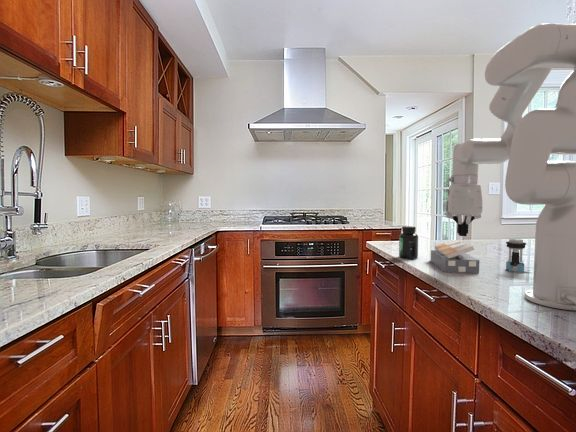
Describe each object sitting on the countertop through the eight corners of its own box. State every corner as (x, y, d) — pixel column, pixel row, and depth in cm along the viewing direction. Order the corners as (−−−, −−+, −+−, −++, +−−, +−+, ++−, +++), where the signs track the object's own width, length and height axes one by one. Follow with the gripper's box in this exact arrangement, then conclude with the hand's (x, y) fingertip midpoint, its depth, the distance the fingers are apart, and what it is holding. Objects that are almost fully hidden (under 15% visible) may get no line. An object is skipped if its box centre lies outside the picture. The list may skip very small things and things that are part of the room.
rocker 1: (461, 244, 116) (460, 241, 116) (438, 251, 118) (437, 247, 118) (458, 243, 120) (456, 239, 120) (435, 249, 122) (434, 245, 122)
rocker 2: (467, 247, 110) (466, 243, 110) (443, 254, 112) (441, 250, 112) (463, 245, 114) (462, 241, 114) (439, 252, 116) (438, 248, 116)
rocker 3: (474, 249, 104) (472, 245, 104) (448, 258, 106) (446, 254, 106) (469, 247, 108) (468, 243, 108) (445, 256, 110) (443, 252, 110)
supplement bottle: (399, 259, 127) (399, 227, 126) (398, 255, 133) (399, 225, 133) (418, 259, 125) (419, 227, 124) (417, 256, 131) (417, 226, 131)
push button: (529, 270, 107) (530, 239, 106) (531, 274, 102) (532, 241, 102) (504, 268, 110) (505, 238, 110) (505, 271, 106) (506, 240, 105)
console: (479, 273, 103) (479, 256, 103) (444, 272, 105) (445, 255, 105) (459, 261, 121) (460, 247, 121) (430, 260, 123) (431, 246, 123)
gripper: (443, 180, 109) (441, 236, 110) (494, 180, 106) (491, 237, 108) (437, 181, 116) (435, 233, 118) (484, 180, 113) (482, 234, 115)
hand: (462, 235), depth 113 cm, fingers closed
